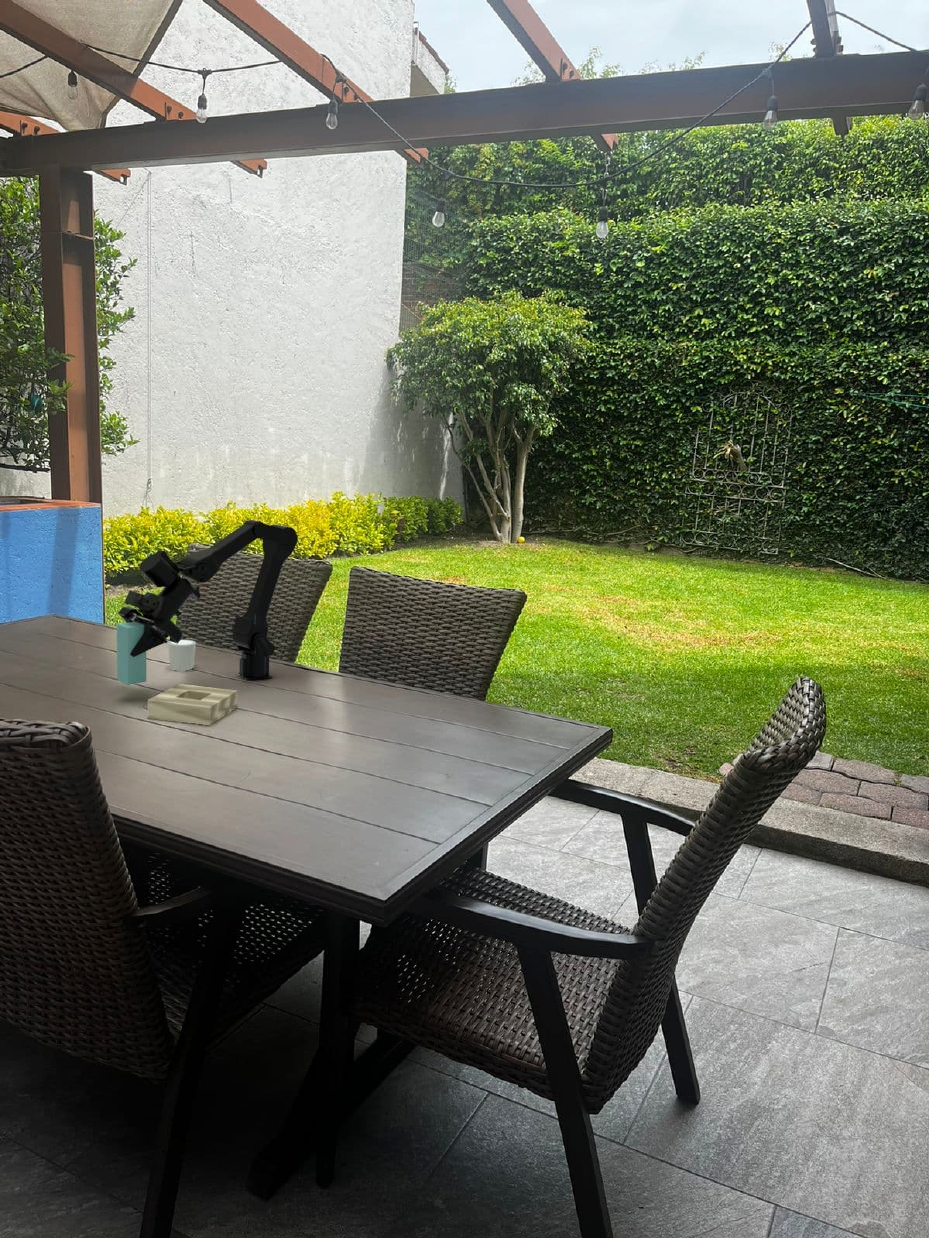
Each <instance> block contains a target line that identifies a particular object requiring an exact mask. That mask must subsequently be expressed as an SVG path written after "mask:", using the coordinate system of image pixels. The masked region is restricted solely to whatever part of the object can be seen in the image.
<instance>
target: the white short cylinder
mask: <svg viewBox="0 0 929 1238" xmlns="http://www.w3.org/2000/svg"><path fill="white" fill-rule="evenodd" d="M167 646H168V647H167V648H168V658H169V666H170V668H171V669H172V670H171V669H170V670H171V671H173V670H177V671H176V672H185V671H184V670H189V669H192V668H193V669H194V666H195V665H194V664H195V658H196V657H195V655H196V646H197V642H196V641H195V640H190V639H181V640H180V641H179V643H178V644H177V643H174V642H171V641H170V640H169V641H168V642H167Z"/></svg>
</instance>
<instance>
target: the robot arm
mask: <svg viewBox="0 0 929 1238" xmlns="http://www.w3.org/2000/svg"><path fill="white" fill-rule="evenodd" d="M257 539H260V540H262V543H261V546H262V552H263V553H262V554H263V559H262V563H261V565H260V568H259V572H258V576H257V579H256V582H255V585H254V589H253V592H252V593H251V598H250V602H249V604H248V608H247V611H245V613H244V614H243V615H242V616H241V615H237V616H236V617H235V621H234V623H233V626H232V628H231V632H232V637H231V638H232V639H233V642H234V644H235V645H236V647H237V650H238V651H239V652H241V658H239V667H238V668H239V672H238V675H239V674H240V675H241V676H240V675H239V676H240V677H242V676H243V677H242V678H244V679H245V678H246V679H245V680H247V679H248V680H247V681H252V680H251V679H256V680H259V679H258V678H266V679H272V678H271V677H273V675H271V674H270V656H274V653H275V650H276V646H275V645H274V643H272V642H271V641H270V640H269V639H268V634H269V625H268V619H267V618H268V616H267V615H268V612H269V611H270V606H271V602H272V601H273V598H274V597H273V596H274V595H275V594H274V593H275V591H276V586H277V584H278V580H279V577H280V574H281V571H282V567H283V564H284V563H285V562H286V561H287V560H288V558H289V557H290V556H291V555H293V553H294V551H295V548H296V547H297V543H298V541H299V540H298V539H299V536H298V534H297V531H296V530H295V529H294V528H293V527H292V526H286V525H279V524H274V523H273V524H267V523H264V522H262V521H260V520H254V519H248V520H246V521H244V522H243V524H242V525H240V526H239V527H238V528H236V529H234V531H232V532H231V533H229V534H227V535H226V536H225V537H223V538H222V539H220V540H219V541H217V542H216V543H214V544H213V545H211V546H209V547H207V548H205V549H201V550H197V551H195V552H192V553H190V554H188V555H186V556H184V557H183V558H182V559H181V560H179V561H175V562H174V561H173V560H172V559H171V558H170V557H169V555H168V553H167V552H166V551H165V550H161V549H158V550H157V551H156V552H155V553H152V554H150V555H148V556H147V557H145V558H143V560H142V561H141V562H140V564H139V565H138V566H139V567H138V570H139V572H141V573H142V574H143V576H145V577H146V578H147V579H148V580H149V581H150V582H151V583H152V584H153V585H154V586H155V587H156V588H163V589H162V590H161V591H160V592H159V593H158V594H155V593H153V592H149V591H147V592H145V593H144V594H142V593H140V592H137V591H134V590H130V589H129V590H128V593H127V595H126V598H125V600H124V602H123V603H124V604H126V605H128V606H123V607H121V609H120V610H119V611H118V612H117V614H118V616H120V617H121V618H122V619H123V620H124V621H125V623H131V622H137V623H140V624H143V625H144V634H143V635H142V637H141V638H140V640H139V641H138V643H137V644H136V645H135V647H134V648H133V650H132V652H131V653H130V655H131V656H132V657H135V656H137V655H139V654H142V653H144V652H146V653H147V651H150V650H151V649H154V648H157V647H158V646H161V645H163V644H168V642H169V641H171V642H174V643H177V644H178V643H179V641H180V640H183V637H184V636H183V635H184V631H182V629H181V628H179V626H177V624H175V623H174V622H173V621H172V619H173V618H174V617H180V615H181V614H182V612H181V611H180V610H181V608H182V607H183V606H184V605H185V603H186V602H187V600H189V598H190V597H192V598H196V599H200V598H201V592H200V588H201V587H200V586H198V585H193V583H191V582H190V581H193V582H196V583H197V582H198V583H201V584H204V583H207V582H209V581H211V579H212V578H213V577H214V576H215V575H216V574H217V573H218V572H219V570H220V568H221V567H222V565H223V564H224V563H225V562H226V561H227V560H229V559H231V558H233V556H235V555H236V554H238V553H239V552H240V551H242V550H244V548H246V547H247V546H249V545H251V544H252V543H253V542H254V541H256V540H257ZM180 575H181V576H180ZM182 577H183V578H182ZM189 580H190V581H189ZM129 605H130V606H132V607H130V606H129ZM136 608H137V609H136ZM168 638H169V641H168V640H167V639H168Z"/></svg>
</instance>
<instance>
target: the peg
mask: <svg viewBox="0 0 929 1238" xmlns="http://www.w3.org/2000/svg"><path fill="white" fill-rule="evenodd" d="M143 634H144V625H143V624H140V623H137V622H131V623H126V622H123V623H117V624H116V667H117V668H116V669H117V670H116V672H117V673H116V677H117V678H116V681H117V682H120V683H122V684H125V685H127V686H130V685H135V684H141V683H147V651H146V652H144V653H142V654H139V655H137V656H135V657H132V656H131V655H130V653H131V652H132V650H133V648H134V647H135V645H136V644H137V643H138V641H139V640H140V638H141V637H142V635H143Z"/></svg>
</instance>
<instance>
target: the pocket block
mask: <svg viewBox="0 0 929 1238" xmlns="http://www.w3.org/2000/svg"><path fill="white" fill-rule="evenodd" d="M236 707H237V708H238V690H235V689H233V690H232V689H226V688H217V687H216V688H215V687H208V686H203V685H202V686H201V685H192V684H185V683H184V684H183V683H179V684H176V685H174V686H172V687H170V688H169V689H166V690H164V691H163V692H160V693H159V694H157V695H155V696H152V697H151V698H148V699H147V719H152V720H159V721H166V720H167V721H168V722H169V721H170V722H174V721H176V722H175V723H182V722H188V723H187V724H190V723H196V724H195V725H198V724H203V725H202V726H205V725H210V724H211V723H213V722H215V721H216V720H217V719H219V718H221V717H222V716H223V715H225V716H227V715H228V714H229V713H228V712H230V711H231V710H233V709H234V708H236ZM237 708H236V709H237ZM233 711H234V710H233ZM227 713H228V714H227ZM230 713H231V712H230ZM226 714H227V715H226ZM222 718H223V717H222ZM222 718H221V719H222ZM219 720H220V719H219ZM216 722H217V721H216ZM216 722H215V723H216ZM213 724H214V723H213ZM211 725H212V724H211ZM211 725H210V726H211Z"/></svg>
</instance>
